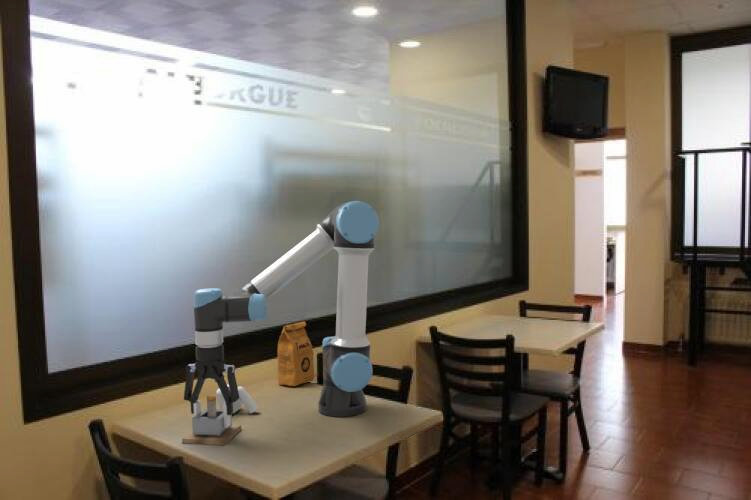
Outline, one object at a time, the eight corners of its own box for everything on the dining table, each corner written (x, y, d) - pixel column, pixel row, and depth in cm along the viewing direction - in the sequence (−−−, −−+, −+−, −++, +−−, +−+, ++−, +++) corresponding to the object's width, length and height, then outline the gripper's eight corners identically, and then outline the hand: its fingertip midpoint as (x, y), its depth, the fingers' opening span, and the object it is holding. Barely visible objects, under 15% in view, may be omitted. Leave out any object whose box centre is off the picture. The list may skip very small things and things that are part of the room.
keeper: (241, 429, 177) (240, 390, 177) (224, 445, 166) (222, 403, 165) (201, 427, 179) (200, 389, 179) (182, 443, 168) (180, 402, 167)
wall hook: (254, 416, 187) (245, 384, 187) (223, 422, 189) (215, 390, 189) (264, 407, 195) (256, 377, 195) (234, 414, 197) (226, 383, 197)
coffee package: (318, 381, 226) (317, 321, 225) (293, 389, 216) (292, 327, 215) (299, 377, 232) (297, 319, 231) (274, 385, 223) (272, 324, 221)
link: (232, 425, 176) (231, 410, 176) (220, 435, 168) (219, 419, 168) (205, 424, 177) (204, 409, 177) (192, 434, 169) (192, 418, 169)
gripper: (250, 342, 173) (253, 422, 174) (180, 341, 176) (183, 419, 178) (240, 348, 166) (243, 431, 167) (167, 347, 169) (171, 428, 170)
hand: (212, 425), depth 172 cm, fingers closed on link, 8 cm apart
